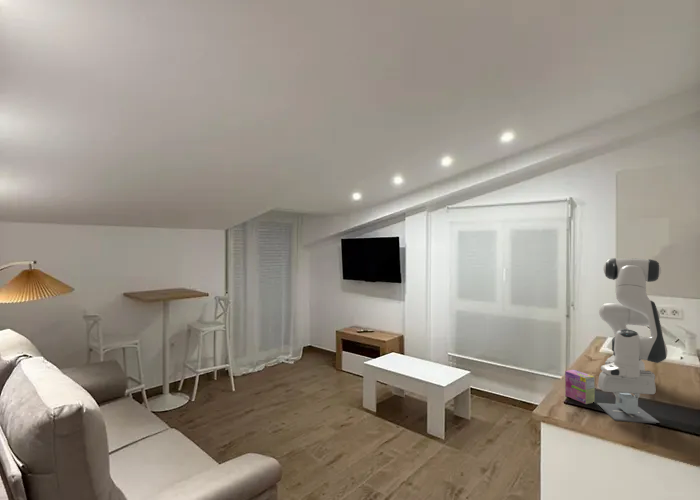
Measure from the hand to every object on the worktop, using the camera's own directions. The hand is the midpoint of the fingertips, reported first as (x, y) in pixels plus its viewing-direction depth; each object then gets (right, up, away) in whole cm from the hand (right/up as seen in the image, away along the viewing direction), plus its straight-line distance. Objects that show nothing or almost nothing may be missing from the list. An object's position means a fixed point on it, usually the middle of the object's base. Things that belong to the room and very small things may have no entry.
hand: (626, 402), depth 160 cm
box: (-11, -4, +14) cm, 19 cm away
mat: (0, -4, 0) cm, 4 cm away
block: (0, -3, 0) cm, 3 cm away
